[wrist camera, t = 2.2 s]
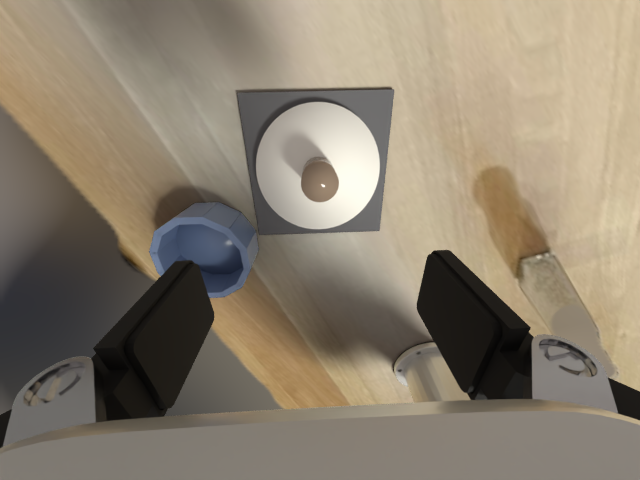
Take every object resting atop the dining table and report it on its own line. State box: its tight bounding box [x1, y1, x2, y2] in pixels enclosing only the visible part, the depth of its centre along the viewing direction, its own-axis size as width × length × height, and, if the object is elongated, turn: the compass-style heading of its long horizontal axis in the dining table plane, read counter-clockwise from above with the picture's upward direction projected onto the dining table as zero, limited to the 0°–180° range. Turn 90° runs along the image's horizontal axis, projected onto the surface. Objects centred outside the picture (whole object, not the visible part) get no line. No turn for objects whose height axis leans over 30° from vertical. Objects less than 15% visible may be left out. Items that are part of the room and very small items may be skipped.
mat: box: [237, 89, 394, 235], centre depth 28 cm, size 16×16×1 cm
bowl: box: [149, 202, 259, 298], centre depth 30 cm, size 11×11×5 cm
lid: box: [256, 102, 380, 229], centre depth 25 cm, size 14×14×6 cm
